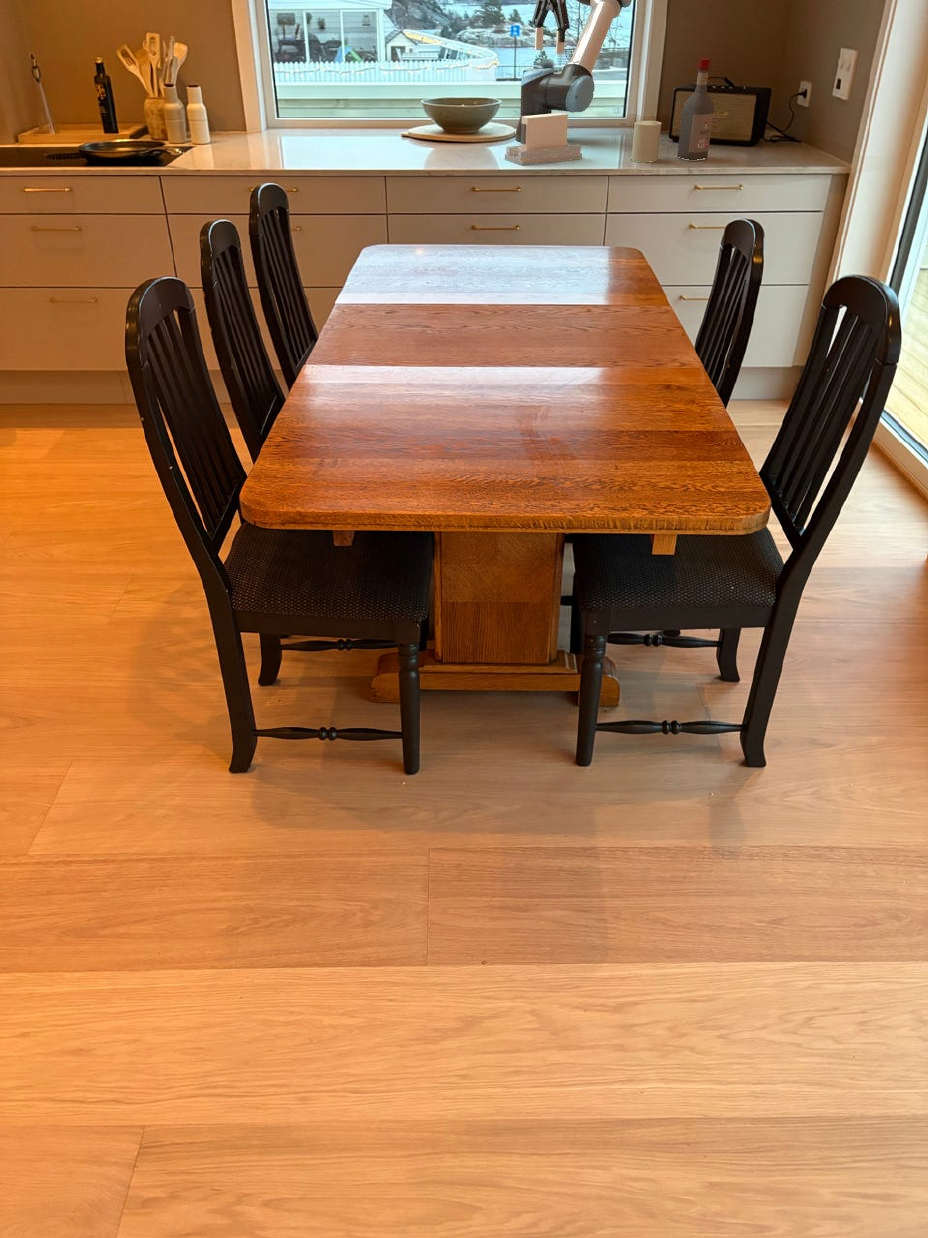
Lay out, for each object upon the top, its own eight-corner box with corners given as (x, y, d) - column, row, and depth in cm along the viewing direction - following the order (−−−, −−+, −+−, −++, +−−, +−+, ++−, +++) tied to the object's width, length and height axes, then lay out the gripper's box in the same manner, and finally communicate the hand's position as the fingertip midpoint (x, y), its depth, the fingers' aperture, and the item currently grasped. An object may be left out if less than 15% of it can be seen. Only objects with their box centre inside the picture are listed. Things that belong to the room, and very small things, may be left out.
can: (651, 163, 321) (655, 124, 314) (626, 160, 325) (630, 121, 318) (661, 158, 327) (666, 120, 320) (637, 156, 331) (641, 117, 324)
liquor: (710, 159, 326) (725, 59, 308) (690, 162, 322) (704, 60, 305) (693, 154, 332) (705, 56, 315) (673, 157, 329) (685, 58, 311)
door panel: (559, 150, 331) (561, 112, 324) (565, 152, 328) (568, 114, 321) (518, 155, 325) (520, 116, 318) (524, 157, 322) (526, 118, 315)
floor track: (563, 152, 336) (563, 140, 334) (581, 158, 328) (582, 145, 325) (504, 158, 327) (504, 146, 325) (522, 165, 319) (522, 152, 316)
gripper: (523, -26, 315) (521, 48, 328) (563, -23, 298) (559, 55, 310) (542, -26, 318) (539, 47, 331) (583, -23, 301) (578, 54, 313)
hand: (549, 51), depth 321 cm, fingers open, 13 cm apart
